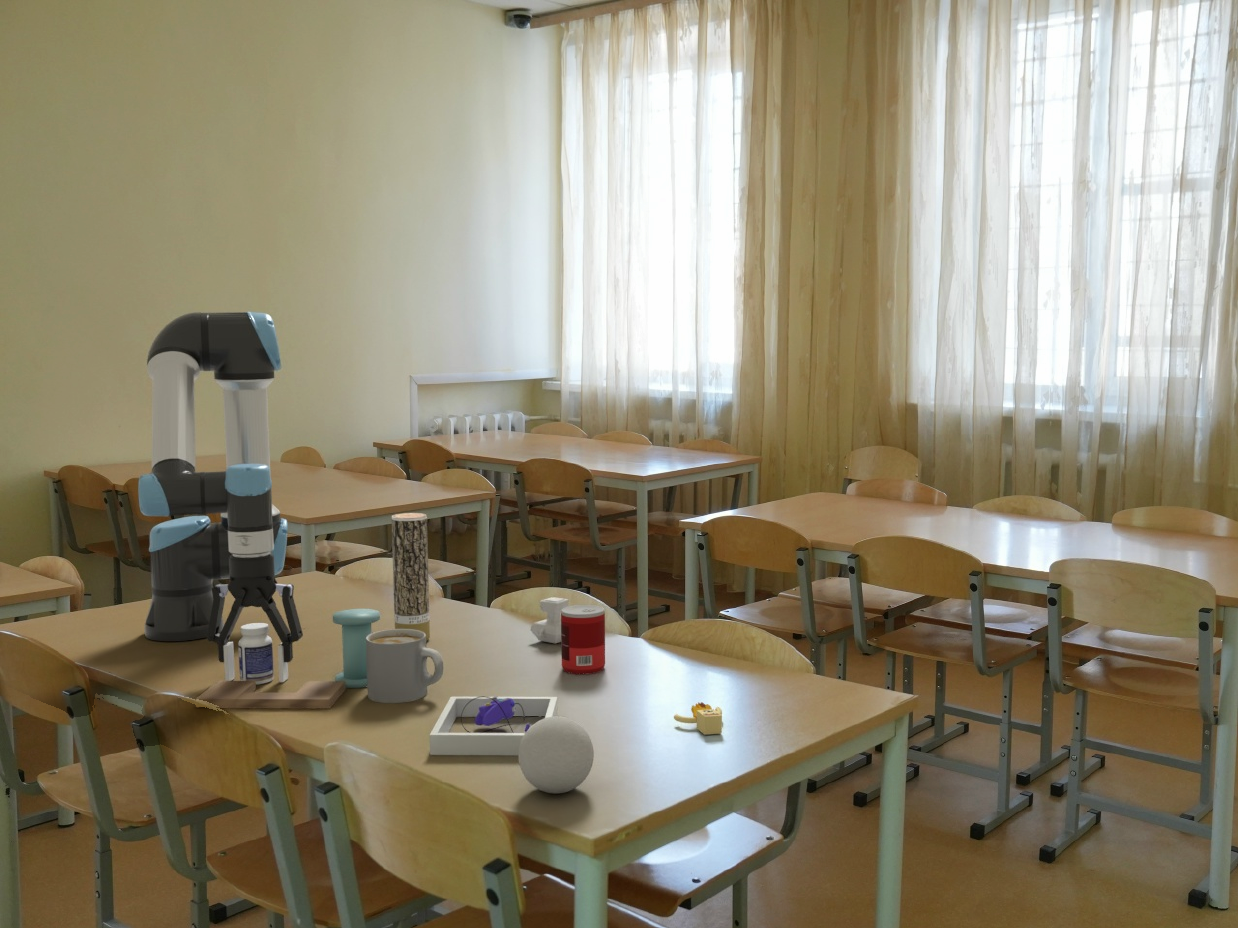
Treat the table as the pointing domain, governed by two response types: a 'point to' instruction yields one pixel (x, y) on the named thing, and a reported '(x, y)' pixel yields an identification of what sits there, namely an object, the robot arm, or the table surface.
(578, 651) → the canned food
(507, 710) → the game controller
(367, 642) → the coffee mug
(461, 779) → the table surface
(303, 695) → the notch board
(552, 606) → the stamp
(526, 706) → the controller tray
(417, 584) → the paper tube
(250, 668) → the pill bottle
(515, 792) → the table surface
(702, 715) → the character toy
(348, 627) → the bobbin post
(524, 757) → the ball
